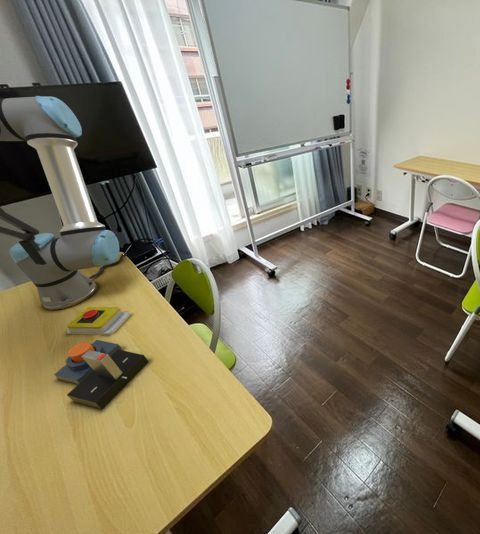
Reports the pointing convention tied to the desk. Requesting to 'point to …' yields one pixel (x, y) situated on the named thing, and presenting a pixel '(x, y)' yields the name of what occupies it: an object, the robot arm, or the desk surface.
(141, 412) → the desk surface
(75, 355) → the push knob
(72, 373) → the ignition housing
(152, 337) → the desk surface
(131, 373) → the cooker panel
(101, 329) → the emergency button
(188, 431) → the desk surface
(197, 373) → the desk surface
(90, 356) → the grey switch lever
